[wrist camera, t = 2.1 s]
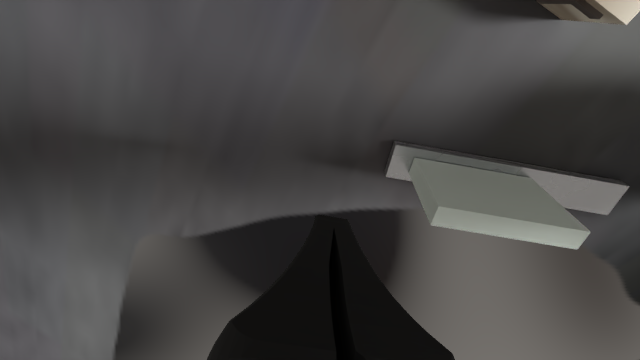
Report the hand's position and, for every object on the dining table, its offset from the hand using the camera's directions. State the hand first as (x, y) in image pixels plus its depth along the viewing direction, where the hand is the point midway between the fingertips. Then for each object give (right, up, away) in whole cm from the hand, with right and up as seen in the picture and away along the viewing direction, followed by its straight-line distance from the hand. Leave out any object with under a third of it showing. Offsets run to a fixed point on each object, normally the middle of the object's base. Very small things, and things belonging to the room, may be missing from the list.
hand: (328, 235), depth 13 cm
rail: (+12, +3, +9) cm, 15 cm away
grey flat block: (+10, +3, +9) cm, 13 cm away
